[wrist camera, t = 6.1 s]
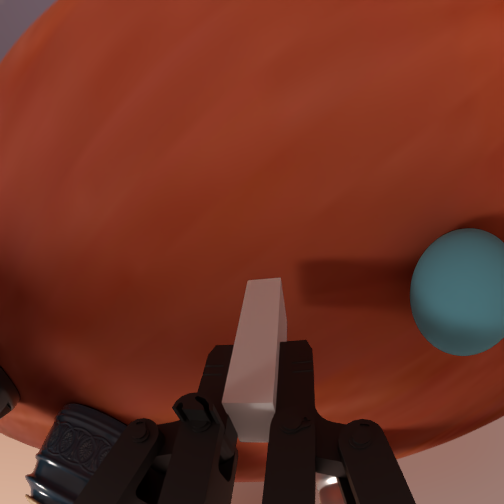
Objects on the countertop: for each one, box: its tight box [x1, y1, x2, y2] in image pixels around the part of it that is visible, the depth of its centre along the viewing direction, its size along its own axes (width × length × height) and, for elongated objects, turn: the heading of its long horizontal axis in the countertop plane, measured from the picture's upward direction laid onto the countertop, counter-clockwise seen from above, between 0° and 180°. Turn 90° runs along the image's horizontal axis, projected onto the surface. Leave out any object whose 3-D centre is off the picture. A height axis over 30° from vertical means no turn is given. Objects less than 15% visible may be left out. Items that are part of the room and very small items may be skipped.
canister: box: [25, 403, 127, 504], centre depth 22 cm, size 13×13×18 cm
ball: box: [410, 228, 504, 356], centre depth 11 cm, size 6×6×6 cm
